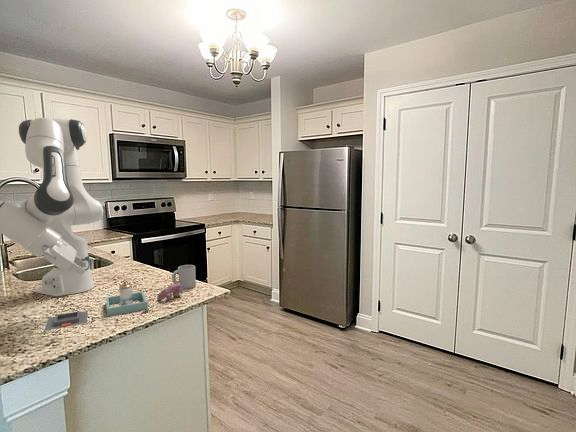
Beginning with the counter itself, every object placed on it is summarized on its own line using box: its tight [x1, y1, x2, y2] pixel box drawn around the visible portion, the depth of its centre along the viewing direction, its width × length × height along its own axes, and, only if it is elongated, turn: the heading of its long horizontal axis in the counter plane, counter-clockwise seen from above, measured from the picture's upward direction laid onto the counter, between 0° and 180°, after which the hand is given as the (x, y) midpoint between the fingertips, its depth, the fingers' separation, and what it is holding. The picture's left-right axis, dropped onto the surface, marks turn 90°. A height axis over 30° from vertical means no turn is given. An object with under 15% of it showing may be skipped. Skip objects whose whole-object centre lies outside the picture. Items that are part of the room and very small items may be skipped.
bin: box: [105, 291, 149, 317], centre depth 115 cm, size 13×13×4 cm
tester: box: [43, 310, 89, 332], centre depth 103 cm, size 11×11×3 cm
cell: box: [118, 282, 134, 306], centre depth 114 cm, size 4×4×9 cm
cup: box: [171, 264, 197, 290], centre depth 140 cm, size 7×10×9 cm
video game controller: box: [156, 283, 185, 301], centre depth 127 cm, size 10×5×7 cm, turn 150°
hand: (84, 269), depth 107 cm, fingers open, 8 cm apart
